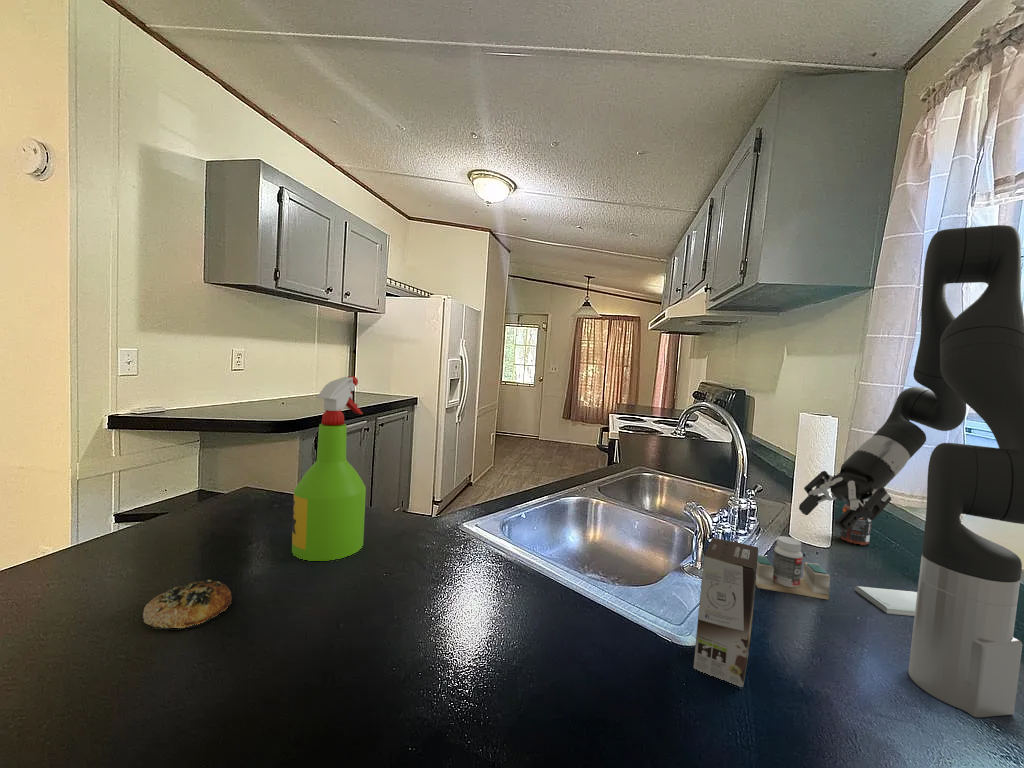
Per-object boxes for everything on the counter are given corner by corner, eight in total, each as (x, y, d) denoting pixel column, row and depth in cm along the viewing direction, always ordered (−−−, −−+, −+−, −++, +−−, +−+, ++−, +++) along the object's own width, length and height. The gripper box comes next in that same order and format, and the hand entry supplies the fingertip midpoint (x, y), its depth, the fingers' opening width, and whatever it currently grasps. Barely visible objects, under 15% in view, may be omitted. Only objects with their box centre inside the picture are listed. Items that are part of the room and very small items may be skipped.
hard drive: (887, 607, 80) (961, 614, 79) (855, 585, 88) (922, 590, 87) (886, 616, 80) (960, 623, 79) (854, 593, 88) (921, 599, 87)
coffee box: (744, 691, 58) (756, 569, 57) (691, 670, 61) (701, 554, 61) (750, 654, 66) (760, 546, 65) (703, 637, 69) (712, 534, 68)
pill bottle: (798, 590, 85) (803, 547, 84) (770, 582, 87) (774, 540, 87) (800, 581, 88) (804, 540, 88) (773, 573, 91) (776, 533, 91)
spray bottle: (383, 531, 102) (390, 377, 101) (342, 566, 85) (351, 380, 83) (327, 524, 104) (333, 373, 103) (276, 557, 86) (283, 375, 85)
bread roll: (237, 587, 75) (235, 560, 74) (226, 634, 65) (225, 603, 64) (154, 601, 70) (151, 572, 69) (129, 653, 60) (126, 621, 59)
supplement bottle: (875, 547, 112) (880, 502, 112) (851, 545, 112) (855, 501, 112) (857, 537, 118) (861, 495, 118) (834, 536, 118) (838, 494, 118)
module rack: (815, 584, 89) (817, 562, 89) (828, 599, 84) (831, 576, 83) (749, 573, 92) (751, 552, 92) (757, 587, 87) (759, 564, 86)
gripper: (833, 443, 96) (781, 495, 95) (901, 457, 82) (842, 518, 81) (852, 468, 97) (801, 519, 96) (922, 486, 83) (863, 547, 82)
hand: (819, 519), depth 88 cm, fingers open, 8 cm apart
